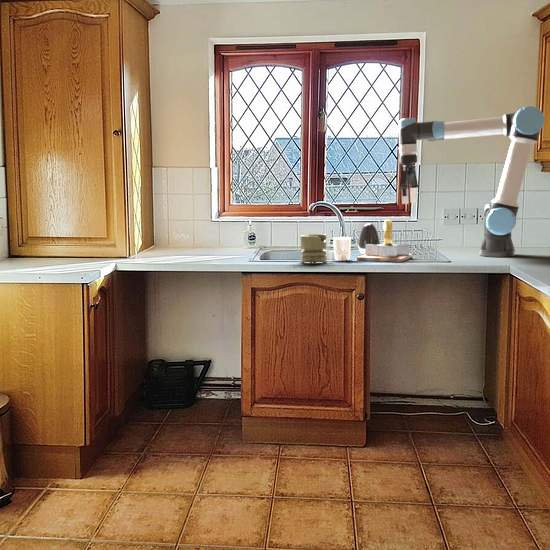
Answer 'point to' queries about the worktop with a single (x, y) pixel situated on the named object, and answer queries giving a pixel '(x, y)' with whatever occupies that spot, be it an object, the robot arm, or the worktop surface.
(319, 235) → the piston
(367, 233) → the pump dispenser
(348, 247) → the white cup
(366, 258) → the mount board
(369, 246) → the white piece
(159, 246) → the worktop surface
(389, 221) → the pin
